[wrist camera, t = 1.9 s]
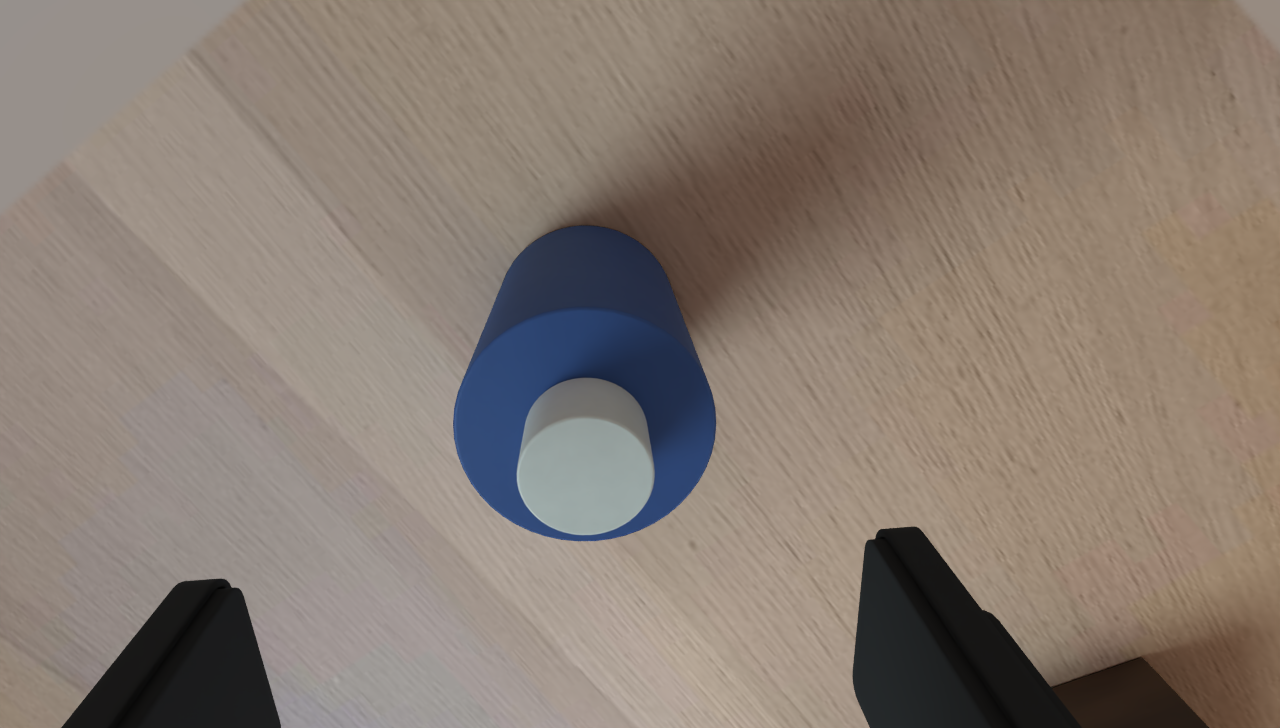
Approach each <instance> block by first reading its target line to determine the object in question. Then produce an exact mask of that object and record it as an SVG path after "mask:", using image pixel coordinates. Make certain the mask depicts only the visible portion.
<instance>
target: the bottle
mask: <svg viewBox="0 0 1280 728" xmlns="http://www.w3.org/2000/svg"><path fill="white" fill-rule="evenodd" d="M453 428H454V440H455V444H456V449H457V454H458V456H459V459H460V462H461V464H462V467H463V469H464V471H465V473H466V475H467V477H468V478H469V480H470V482H471V484H472V485H473V486H474V488H475V489H476V490H477V492H478V493H479V494H480V496H481V497H482V498H483V499H484V500H485V501H486V502H487V503H488V504H489V505H490V506H491V507H492V508H493V509H495V510H496V511H497V512H498V513H500V514H501V515H502V516H503V517H505V518H507V519H508V520H510V521H512V522H513V523H515V524H516V525H519V526H521V527H523V528H525V529H527V530H529V531H532V532H535V533H538V534H541V535H544V536H547V537H552V538H556V539H561V540H571V541H598V540H606V539H612V538H616V537H621V536H625V535H628V534H631V533H633V532H636V531H639V530H641V529H643V528H645V527H647V526H649V525H651V524H654V523H655V522H657V521H658V520H660V519H661V518H663V517H665V516H666V515H668V514H669V513H670V512H671V511H672V510H674V509H675V508H676V507H677V506H678V505H680V503H681V502H682V501H683V500H684V499H685V498H686V497H687V496H688V495H689V494H690V493H691V491H692V490H693V489H694V487H695V486H696V484H697V483H698V482H699V480H700V478H701V476H702V474H703V473H704V471H705V469H706V467H707V464H708V462H709V459H710V456H711V454H712V450H713V445H714V441H715V432H716V412H715V405H714V400H713V395H712V392H711V389H710V386H709V384H708V381H707V378H706V376H705V373H704V371H703V368H702V365H701V363H700V360H699V358H698V355H697V353H696V350H695V347H694V345H693V342H692V340H691V337H690V334H689V332H688V329H687V327H686V324H685V322H684V319H683V316H682V314H681V311H680V309H679V306H678V303H677V301H676V298H675V296H674V293H673V291H672V288H671V285H670V283H669V280H668V278H667V275H666V274H665V272H664V270H663V268H662V266H661V265H660V263H659V262H658V261H657V259H656V258H655V257H654V256H653V255H652V254H651V253H650V252H649V250H648V249H646V248H645V247H644V246H643V245H641V244H640V243H639V242H638V241H636V240H634V239H633V238H631V237H629V236H628V235H625V234H623V233H621V232H618V231H616V230H612V229H609V228H605V227H598V226H573V227H567V228H563V229H559V230H556V231H554V232H551V233H548V234H546V235H544V236H543V237H541V238H539V239H537V240H536V241H534V242H533V243H532V244H530V245H529V246H528V247H527V248H526V249H525V250H524V251H522V252H521V253H520V254H519V256H518V257H517V258H516V259H515V261H514V262H513V263H512V265H511V267H510V268H509V270H508V272H507V274H506V276H505V278H504V281H503V283H502V286H501V288H500V291H499V293H498V296H497V298H496V300H495V303H494V305H493V308H492V310H491V313H490V315H489V317H488V320H487V322H486V325H485V327H484V330H483V332H482V335H481V337H480V339H479V342H478V344H477V347H476V349H475V352H474V354H473V357H472V359H471V361H470V364H469V366H468V369H467V371H466V374H465V376H464V379H463V381H462V384H461V386H460V389H459V391H458V395H457V399H456V403H455V408H454V420H453Z"/></svg>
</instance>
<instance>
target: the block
mask: <svg viewBox="0 0 1280 728" xmlns="http://www.w3.org/2000/svg"><path fill="white" fill-rule="evenodd" d="M1052 690H1053V691H1054V692H1055V694H1056V695H1057V696H1058V697H1059V699H1060V700H1061V701H1062V703H1063V704H1064V705H1065V706H1066V708H1067V709H1068V710H1069V712H1070V713H1071V714H1072V715H1073V717H1074V718H1075V719H1076V721H1077V722H1078V723H1079V724H1080V726H1081V727H1082V728H1209V727H1208V726H1207V725H1206V724H1205V723H1204V722H1203V721H1202V720H1201V719H1200V718H1199V717H1198V716H1197V715H1196V713H1195V712H1194V711H1193V710H1192V709H1191V708H1190V707H1189V706H1188V705H1187V704H1186V703H1185V702H1184V701H1183V700H1182V699H1181V698H1180V697H1179V696H1178V694H1177V693H1176V692H1175V691H1174V690H1173V689H1172V688H1171V687H1170V686H1169V685H1168V684H1167V683H1166V682H1165V681H1164V680H1163V679H1162V678H1161V677H1160V675H1159V674H1158V673H1157V672H1156V671H1155V670H1154V669H1153V668H1152V667H1151V666H1150V665H1149V664H1148V663H1147V662H1146V661H1145V660H1144V659H1143V658H1139V659H1136V660H1133V661H1130V662H1127V663H1124V664H1121V665H1118V666H1115V667H1113V668H1110V669H1107V670H1104V671H1101V672H1098V673H1095V674H1092V675H1089V676H1086V677H1083V678H1080V679H1077V680H1074V681H1071V682H1069V683H1066V684H1063V685H1060V686H1057V687H1054V688H1052Z"/></svg>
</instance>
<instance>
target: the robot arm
mask: <svg viewBox="0 0 1280 728" xmlns="http://www.w3.org/2000/svg"><path fill="white" fill-rule="evenodd" d="M853 685H854V690H855V694H856V697H857V700H858V702H859V704H860V707H861V709H862V711H863V713H864V716H865V718H866V720H867V722H868V724H869V727H870V728H1082V727H1081V726H1080V724H1079V723H1078V722H1077V721H1076V719H1075V718H1074V717H1073V715H1072V714H1071V713H1070V712H1069V710H1068V709H1067V708H1066V706H1065V705H1064V704H1063V703H1062V701H1061V700H1060V699H1059V697H1058V696H1057V695H1056V694H1055V692H1054V691H1053V690H1052V688H1051V687H1050V686H1049V685H1048V683H1047V682H1046V681H1045V679H1044V678H1043V677H1042V676H1041V674H1040V673H1039V672H1038V670H1037V669H1036V668H1035V667H1034V665H1033V664H1032V663H1031V661H1030V660H1029V659H1028V657H1027V656H1026V655H1025V654H1024V652H1023V651H1022V650H1021V648H1020V647H1019V646H1018V645H1017V643H1016V642H1015V641H1014V639H1013V638H1012V637H1011V636H1010V634H1009V633H1008V632H1007V630H1006V629H1005V628H1004V627H1003V625H1002V624H1001V623H1000V621H999V620H998V619H997V618H996V617H995V616H994V615H993V614H991V613H989V612H987V611H985V610H983V611H982V609H981V608H980V607H979V605H978V604H977V603H976V601H975V600H974V599H973V598H972V596H971V595H970V594H969V592H968V591H967V590H966V588H965V587H964V586H963V584H962V583H961V582H960V580H959V579H958V578H957V576H956V575H955V574H954V573H953V571H952V570H951V569H950V567H949V566H948V565H947V563H946V562H945V561H944V559H943V558H942V557H941V555H940V554H939V553H938V552H937V550H936V549H935V548H934V546H933V545H932V544H931V542H930V541H929V540H928V538H927V537H926V536H925V534H924V533H923V532H922V531H921V530H920V529H919V528H917V527H904V528H890V529H881V530H879V531H878V532H877V534H876V538H875V539H872V540H868V541H867V542H866V545H865V551H864V561H863V572H862V582H861V592H860V602H859V613H858V623H857V633H856V644H855V654H854V664H853ZM62 728H281V724H280V720H279V716H278V713H277V710H276V706H275V703H274V699H273V696H272V692H271V689H270V685H269V682H268V678H267V675H266V672H265V668H264V665H263V661H262V658H261V654H260V651H259V647H258V644H257V641H256V637H255V634H254V630H253V627H252V623H251V620H250V616H249V613H248V609H247V606H246V603H245V599H244V596H243V593H242V591H241V590H240V589H239V588H231V585H230V583H229V582H228V581H227V580H225V579H209V580H196V581H184V582H181V583H178V584H177V585H176V586H175V587H174V588H173V589H172V590H171V592H170V593H169V594H168V595H167V597H166V598H165V599H164V600H163V602H162V603H161V604H160V605H159V607H158V608H157V609H156V610H155V612H154V613H153V614H152V615H151V617H150V618H149V619H148V620H147V622H146V623H145V624H144V625H143V627H142V628H141V629H140V630H139V632H138V633H137V634H136V635H135V637H134V638H133V639H132V640H131V641H130V643H129V644H128V645H127V646H126V648H125V649H124V650H123V651H122V653H121V654H120V655H119V656H118V658H117V659H116V660H115V661H114V663H113V664H112V665H111V666H110V668H109V669H108V670H107V671H106V673H105V674H104V675H103V676H102V678H101V679H100V680H99V681H98V683H97V684H96V685H95V686H94V688H93V689H92V690H91V691H90V693H89V694H88V695H87V696H86V698H85V699H84V700H83V701H82V703H81V704H80V705H79V706H78V708H77V709H76V710H75V711H74V713H73V714H72V715H71V716H70V718H69V719H68V720H67V721H66V723H65V724H64V725H63V726H62Z"/></svg>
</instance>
